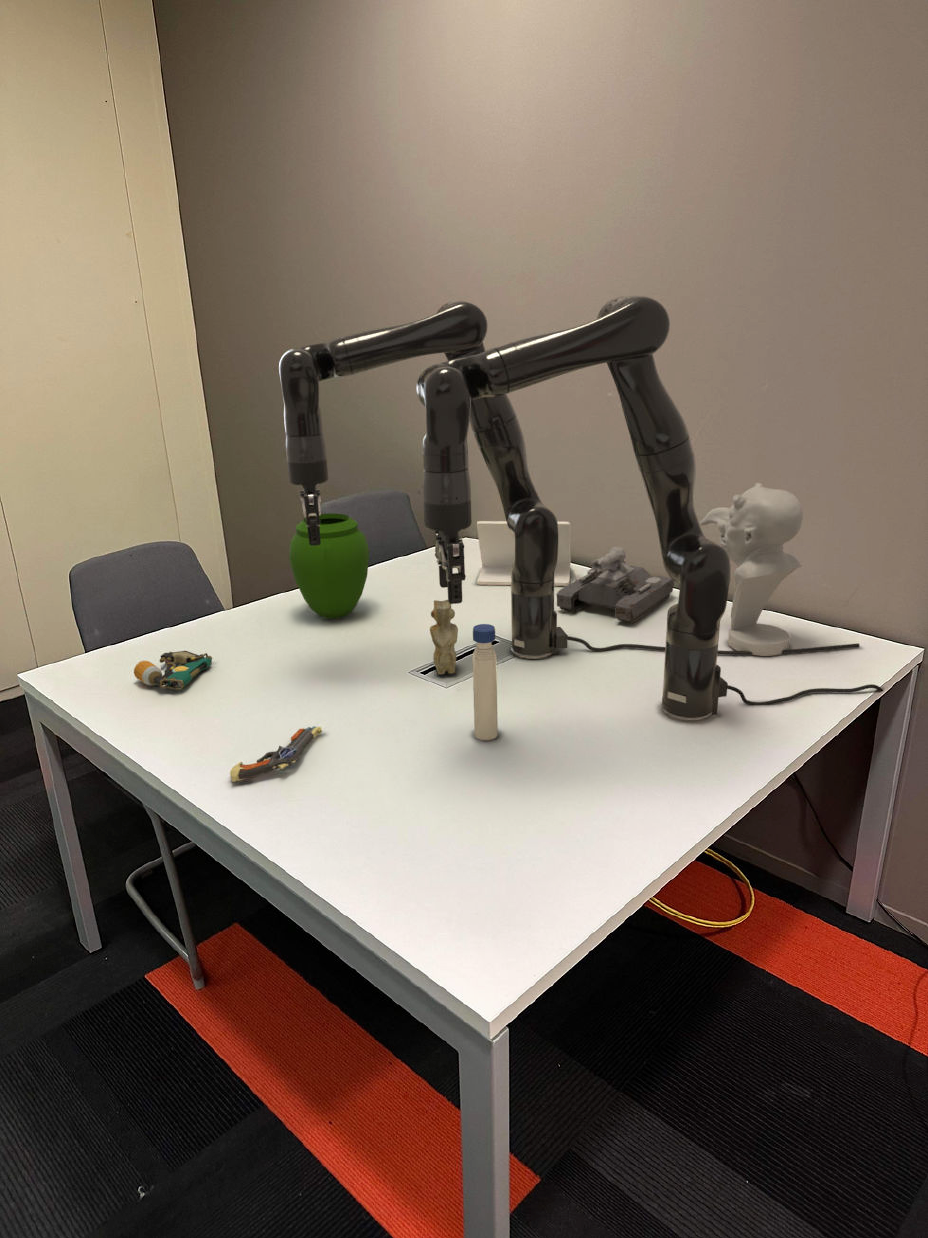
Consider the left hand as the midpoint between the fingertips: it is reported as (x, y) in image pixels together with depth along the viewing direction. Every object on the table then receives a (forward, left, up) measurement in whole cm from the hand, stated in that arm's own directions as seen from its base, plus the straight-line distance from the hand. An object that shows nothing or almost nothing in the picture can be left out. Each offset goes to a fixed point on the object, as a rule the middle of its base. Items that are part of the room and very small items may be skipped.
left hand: (314, 539), depth 170 cm
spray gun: (+31, -7, -29) cm, 43 cm away
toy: (-73, -23, -29) cm, 82 cm away
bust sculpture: (-91, +7, -29) cm, 96 cm away
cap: (-27, +35, -9) cm, 45 cm away
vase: (-4, -36, -29) cm, 47 cm away
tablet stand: (-58, -53, -29) cm, 84 cm away
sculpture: (-24, +5, -29) cm, 39 cm away
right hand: (-21, +37, -1) cm, 42 cm away
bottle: (-27, +35, -29) cm, 53 cm away
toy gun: (+10, +34, -29) cm, 46 cm away
